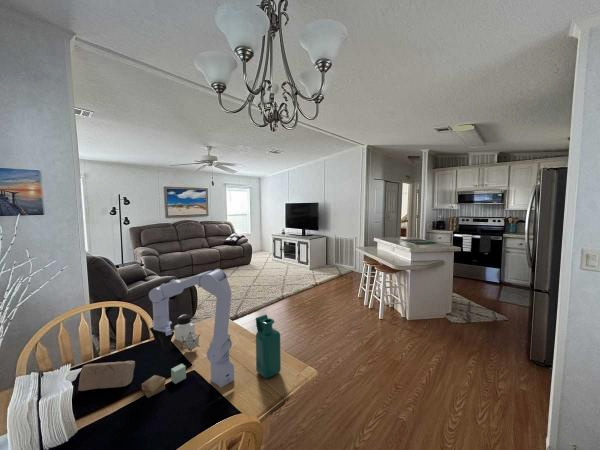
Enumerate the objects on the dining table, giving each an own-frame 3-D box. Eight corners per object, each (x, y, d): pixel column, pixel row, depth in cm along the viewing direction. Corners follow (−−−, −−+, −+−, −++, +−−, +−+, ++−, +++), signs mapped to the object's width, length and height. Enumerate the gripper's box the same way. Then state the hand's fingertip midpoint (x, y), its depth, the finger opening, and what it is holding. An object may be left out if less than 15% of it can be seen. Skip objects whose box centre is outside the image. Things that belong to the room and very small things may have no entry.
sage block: (186, 378, 104) (185, 366, 104) (175, 384, 100) (174, 371, 100) (182, 375, 106) (181, 363, 105) (171, 381, 102) (171, 369, 102)
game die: (204, 347, 127) (203, 327, 126) (195, 357, 118) (194, 336, 117) (186, 346, 127) (186, 326, 127) (177, 356, 119) (176, 335, 118)
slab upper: (165, 383, 99) (165, 378, 99) (152, 392, 94) (152, 387, 94) (154, 379, 101) (154, 374, 101) (141, 389, 96) (141, 383, 95)
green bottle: (282, 371, 108) (282, 320, 106) (265, 380, 102) (265, 326, 101) (269, 360, 115) (268, 313, 114) (252, 368, 110) (252, 318, 108)
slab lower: (165, 390, 98) (165, 385, 97) (147, 399, 93) (147, 394, 93) (159, 383, 102) (159, 378, 102) (142, 391, 97) (142, 386, 97)
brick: (135, 359, 104) (131, 362, 100) (132, 382, 102) (128, 386, 98) (87, 363, 100) (80, 366, 95) (82, 387, 98) (76, 391, 93)
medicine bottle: (195, 337, 136) (194, 315, 135) (182, 343, 130) (182, 320, 129) (187, 333, 140) (186, 312, 139) (174, 339, 134) (173, 317, 133)
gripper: (178, 316, 106) (179, 348, 107) (163, 307, 115) (165, 336, 116) (160, 322, 100) (161, 355, 101) (146, 312, 110) (148, 343, 111)
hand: (162, 346), depth 108 cm, fingers open, 7 cm apart
